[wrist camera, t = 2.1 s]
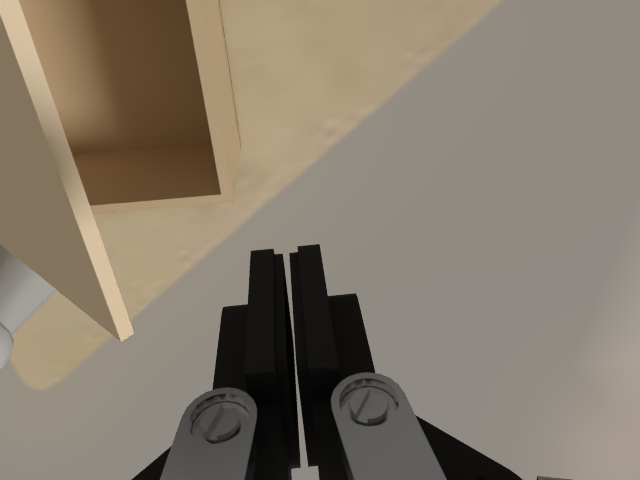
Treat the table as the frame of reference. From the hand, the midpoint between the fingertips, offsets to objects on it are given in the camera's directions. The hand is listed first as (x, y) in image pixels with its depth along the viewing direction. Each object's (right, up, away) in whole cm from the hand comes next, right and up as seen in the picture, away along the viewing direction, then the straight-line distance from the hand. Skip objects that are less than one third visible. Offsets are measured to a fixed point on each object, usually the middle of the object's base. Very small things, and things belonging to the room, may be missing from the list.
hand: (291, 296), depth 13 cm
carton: (-13, +13, +21) cm, 28 cm away
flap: (-13, +5, +9) cm, 17 cm away
